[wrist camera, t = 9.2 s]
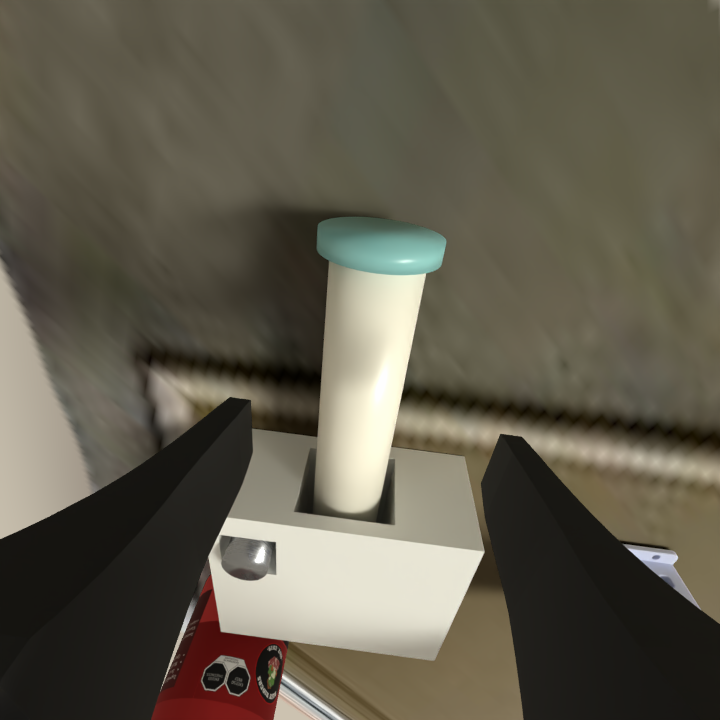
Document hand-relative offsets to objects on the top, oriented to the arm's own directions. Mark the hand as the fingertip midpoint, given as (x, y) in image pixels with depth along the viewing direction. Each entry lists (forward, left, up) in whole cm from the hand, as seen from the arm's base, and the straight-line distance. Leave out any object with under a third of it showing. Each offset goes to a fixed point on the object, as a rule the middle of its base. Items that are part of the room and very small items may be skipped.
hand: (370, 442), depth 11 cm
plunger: (+5, +12, -7) cm, 15 cm away
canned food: (+7, +27, -10) cm, 30 cm away
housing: (0, +15, -10) cm, 18 cm away
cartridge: (0, +4, -9) cm, 10 cm away
